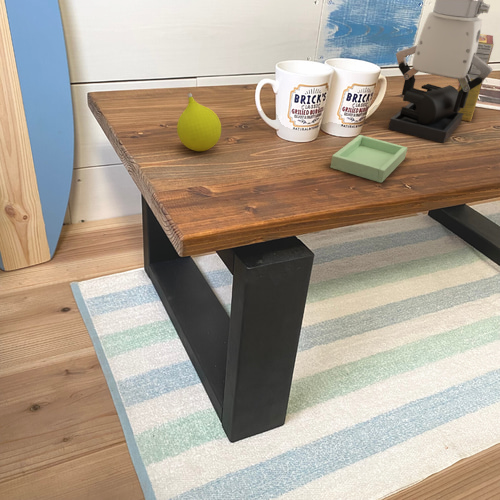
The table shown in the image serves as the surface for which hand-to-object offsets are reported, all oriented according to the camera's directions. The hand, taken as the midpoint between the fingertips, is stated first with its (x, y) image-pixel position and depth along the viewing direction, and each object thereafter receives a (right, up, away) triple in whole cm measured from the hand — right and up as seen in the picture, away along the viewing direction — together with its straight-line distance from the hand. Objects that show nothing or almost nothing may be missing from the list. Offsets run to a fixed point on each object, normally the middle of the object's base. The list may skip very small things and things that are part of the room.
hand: (431, 105), depth 98 cm
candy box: (+10, +1, +10) cm, 14 cm away
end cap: (0, -3, +2) cm, 4 cm away
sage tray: (-15, -14, -14) cm, 25 cm away
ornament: (-43, -11, -14) cm, 47 cm away
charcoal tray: (0, -3, +2) cm, 4 cm away
